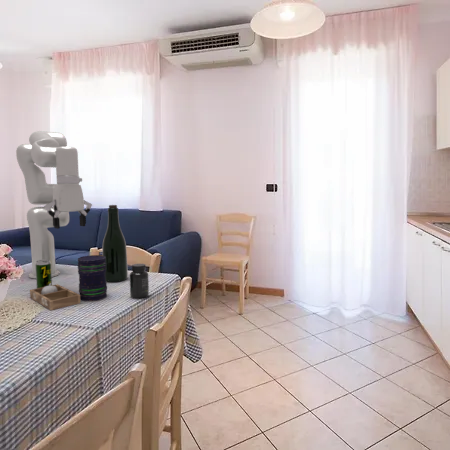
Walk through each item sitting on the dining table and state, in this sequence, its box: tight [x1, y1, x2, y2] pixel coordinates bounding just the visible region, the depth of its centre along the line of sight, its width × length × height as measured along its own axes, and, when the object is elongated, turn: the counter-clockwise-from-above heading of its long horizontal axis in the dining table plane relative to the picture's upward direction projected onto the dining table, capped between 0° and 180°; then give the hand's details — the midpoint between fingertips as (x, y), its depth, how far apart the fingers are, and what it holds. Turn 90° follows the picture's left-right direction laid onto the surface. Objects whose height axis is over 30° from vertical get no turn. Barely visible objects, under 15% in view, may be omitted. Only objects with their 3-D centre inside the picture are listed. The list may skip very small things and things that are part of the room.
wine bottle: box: [101, 204, 129, 283], centre depth 157 cm, size 10×10×33 cm
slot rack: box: [29, 283, 81, 311], centre depth 130 cm, size 19×10×3 cm, turn 47°
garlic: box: [41, 283, 57, 295], centre depth 133 cm, size 6×5×5 cm
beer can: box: [35, 260, 53, 289], centre depth 141 cm, size 5×5×12 cm
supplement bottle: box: [129, 263, 150, 300], centre depth 135 cm, size 7×7×12 cm
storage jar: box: [77, 254, 108, 302], centre depth 133 cm, size 10×10×15 cm
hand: (70, 227), depth 134 cm, fingers open, 9 cm apart
